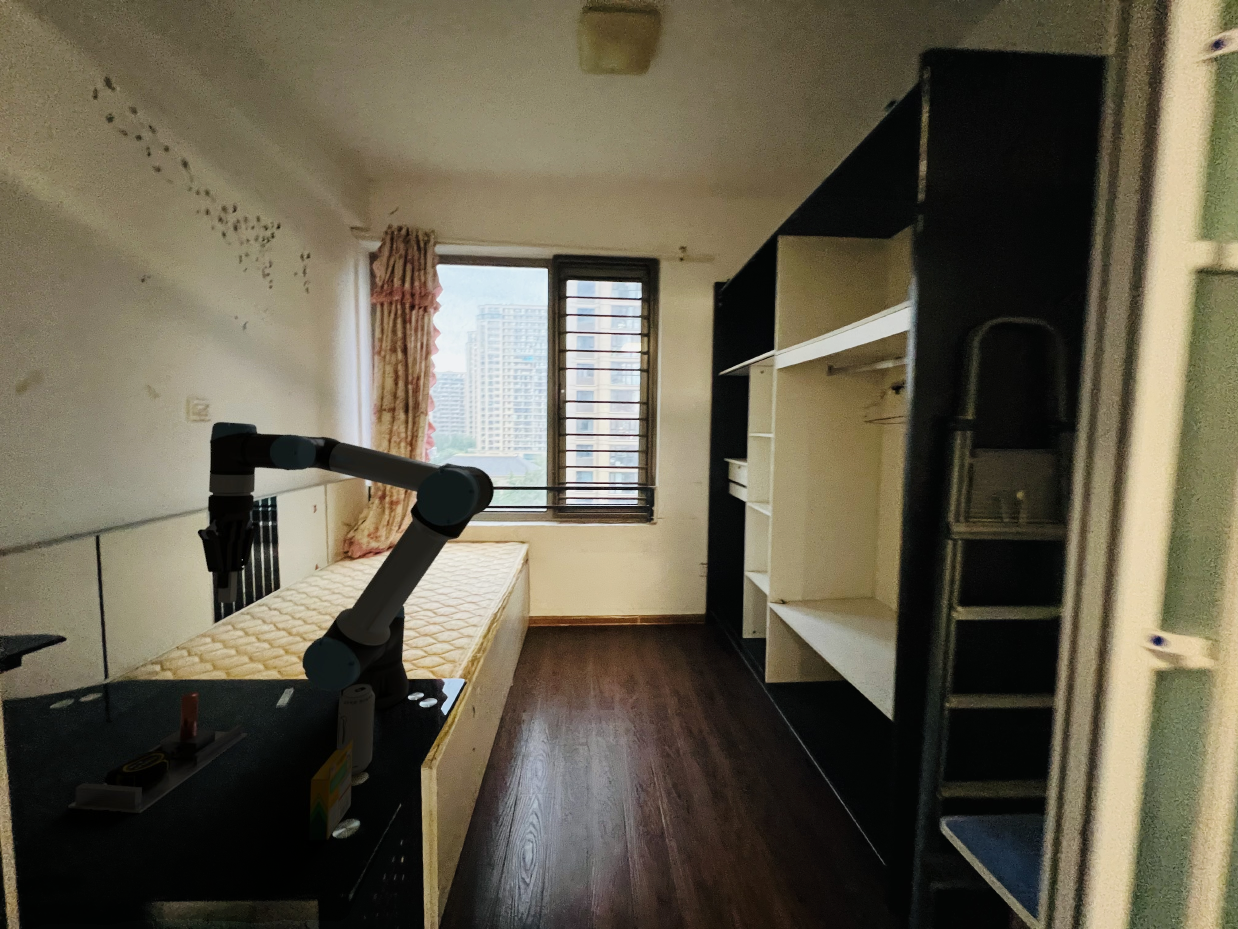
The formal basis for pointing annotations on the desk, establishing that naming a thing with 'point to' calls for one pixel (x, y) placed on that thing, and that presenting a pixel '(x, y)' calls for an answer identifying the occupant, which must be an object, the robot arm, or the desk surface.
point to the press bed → (149, 794)
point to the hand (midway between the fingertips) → (227, 601)
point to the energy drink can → (357, 724)
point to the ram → (187, 731)
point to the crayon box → (330, 794)
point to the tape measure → (140, 770)
